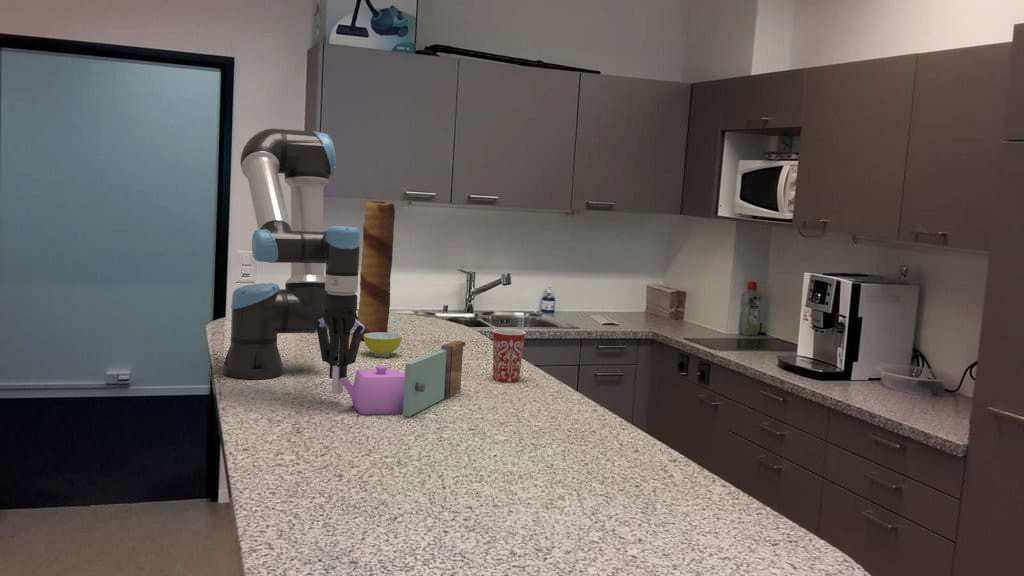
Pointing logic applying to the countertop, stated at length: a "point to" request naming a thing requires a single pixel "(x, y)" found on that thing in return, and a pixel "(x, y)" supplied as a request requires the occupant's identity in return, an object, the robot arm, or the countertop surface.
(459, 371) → the doorframe
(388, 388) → the teapot
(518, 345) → the mug
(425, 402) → the door
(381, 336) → the bowl
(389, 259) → the wafer roll
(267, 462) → the countertop surface
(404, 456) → the countertop surface
